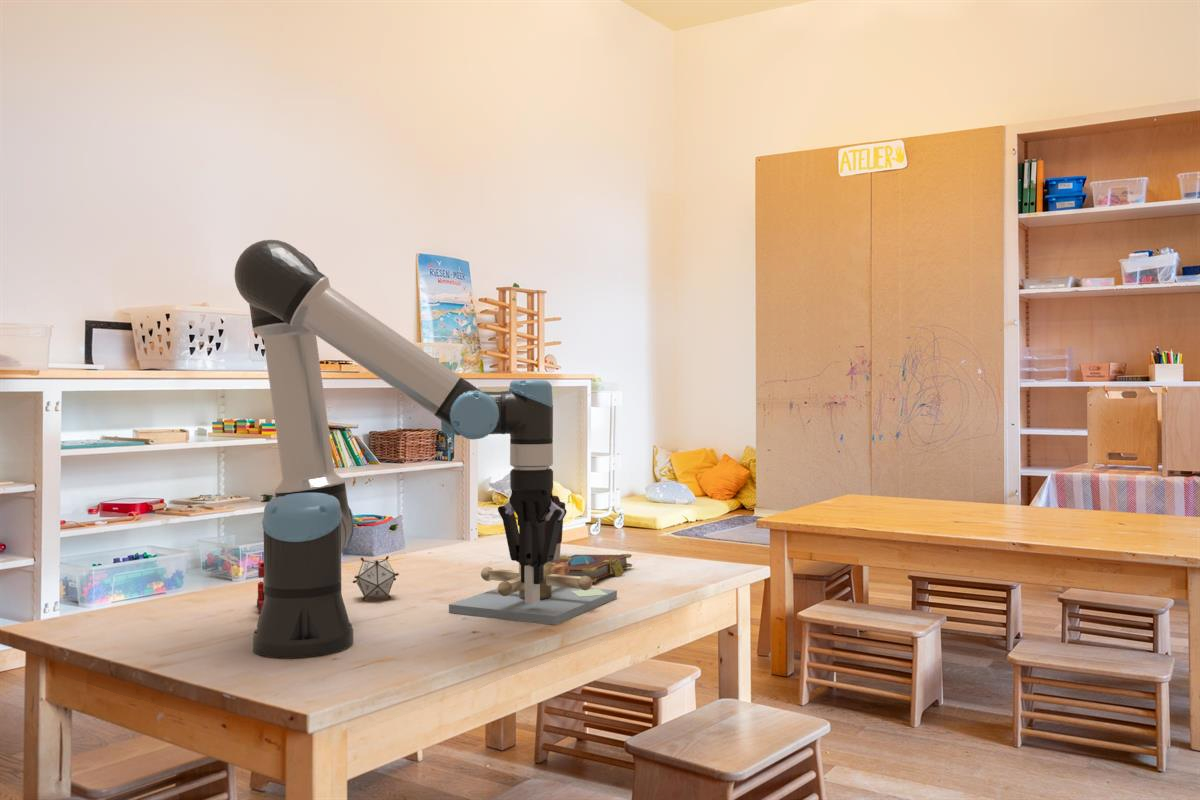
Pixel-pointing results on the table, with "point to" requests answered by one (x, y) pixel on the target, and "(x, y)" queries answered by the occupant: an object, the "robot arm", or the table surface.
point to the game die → (375, 578)
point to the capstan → (551, 578)
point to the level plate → (534, 605)
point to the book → (595, 565)
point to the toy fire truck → (260, 586)
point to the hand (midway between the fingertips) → (532, 601)
